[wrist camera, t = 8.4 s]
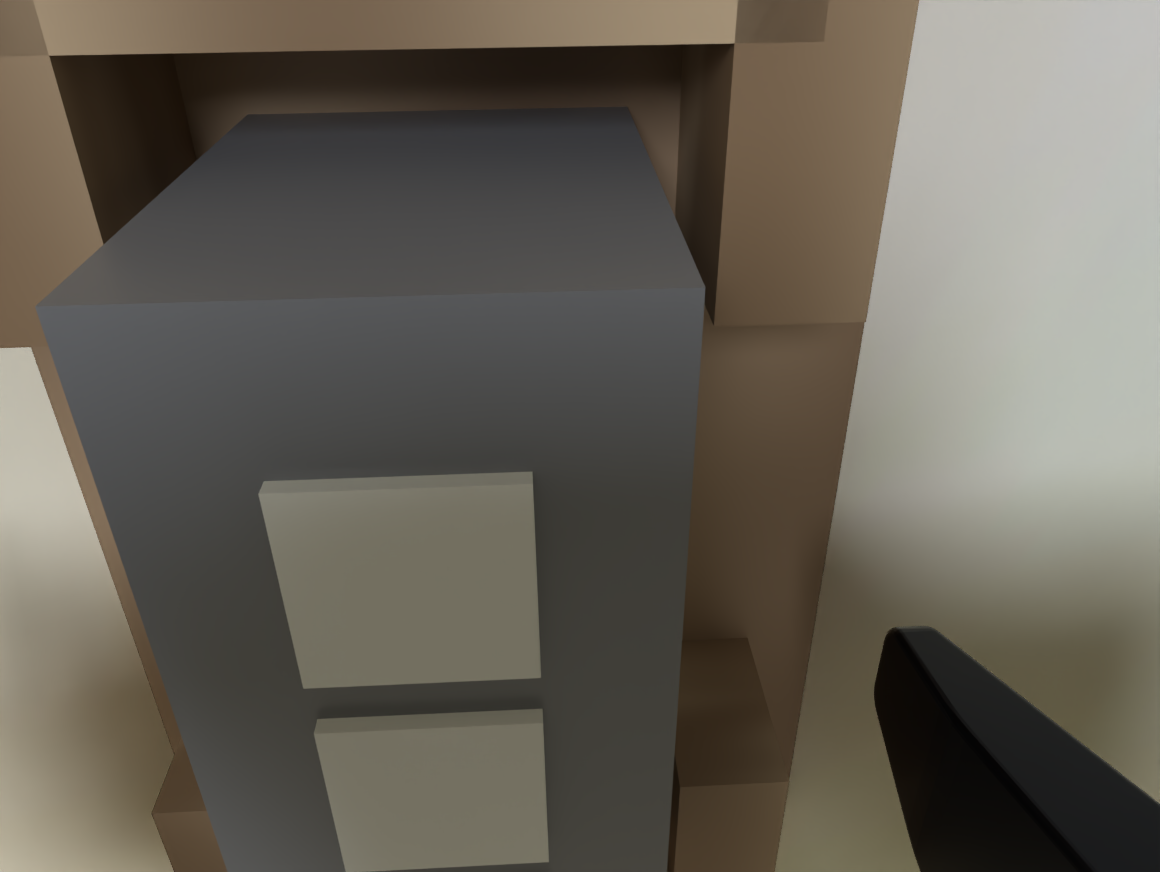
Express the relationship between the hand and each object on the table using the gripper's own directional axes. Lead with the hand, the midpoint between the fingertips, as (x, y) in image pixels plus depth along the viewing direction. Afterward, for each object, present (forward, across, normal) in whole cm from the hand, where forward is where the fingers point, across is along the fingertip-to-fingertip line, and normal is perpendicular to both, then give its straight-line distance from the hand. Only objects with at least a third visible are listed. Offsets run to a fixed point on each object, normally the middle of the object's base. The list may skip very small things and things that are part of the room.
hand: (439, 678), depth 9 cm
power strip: (+4, 0, 0) cm, 4 cm away
